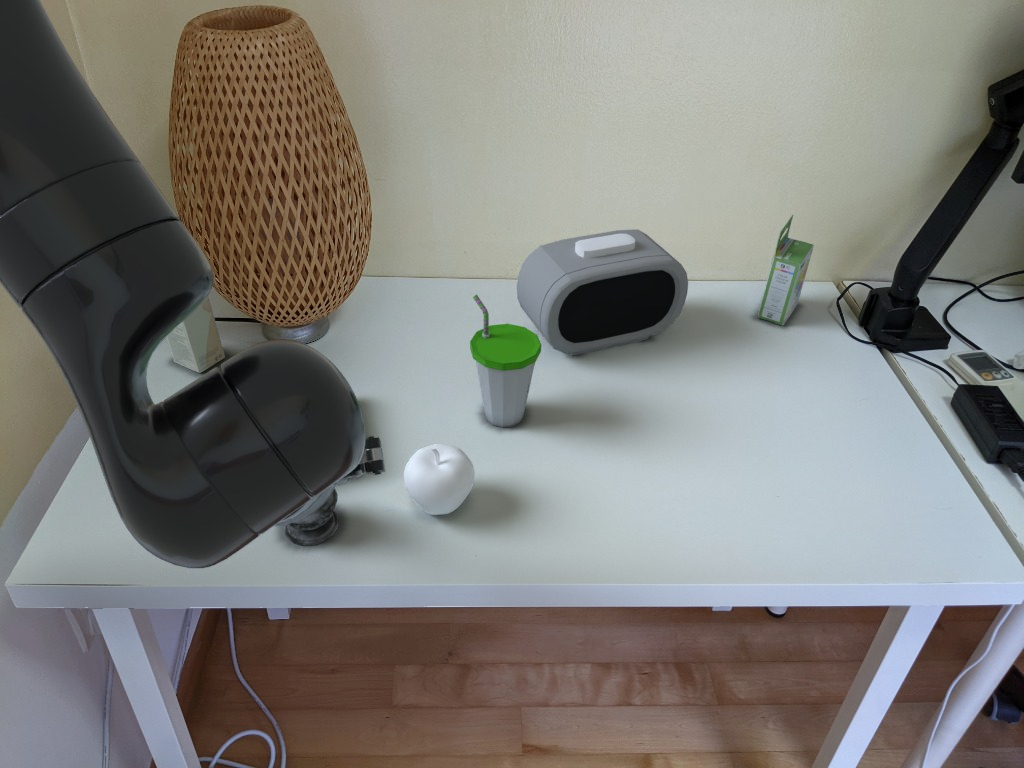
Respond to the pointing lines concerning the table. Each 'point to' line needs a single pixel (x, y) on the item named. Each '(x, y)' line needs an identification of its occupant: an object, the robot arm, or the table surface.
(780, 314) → the ink box
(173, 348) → the box
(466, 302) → the table surface
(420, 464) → the plain white apple
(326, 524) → the chess piece
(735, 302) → the table surface
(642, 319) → the alarm clock
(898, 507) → the table surface
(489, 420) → the cup
